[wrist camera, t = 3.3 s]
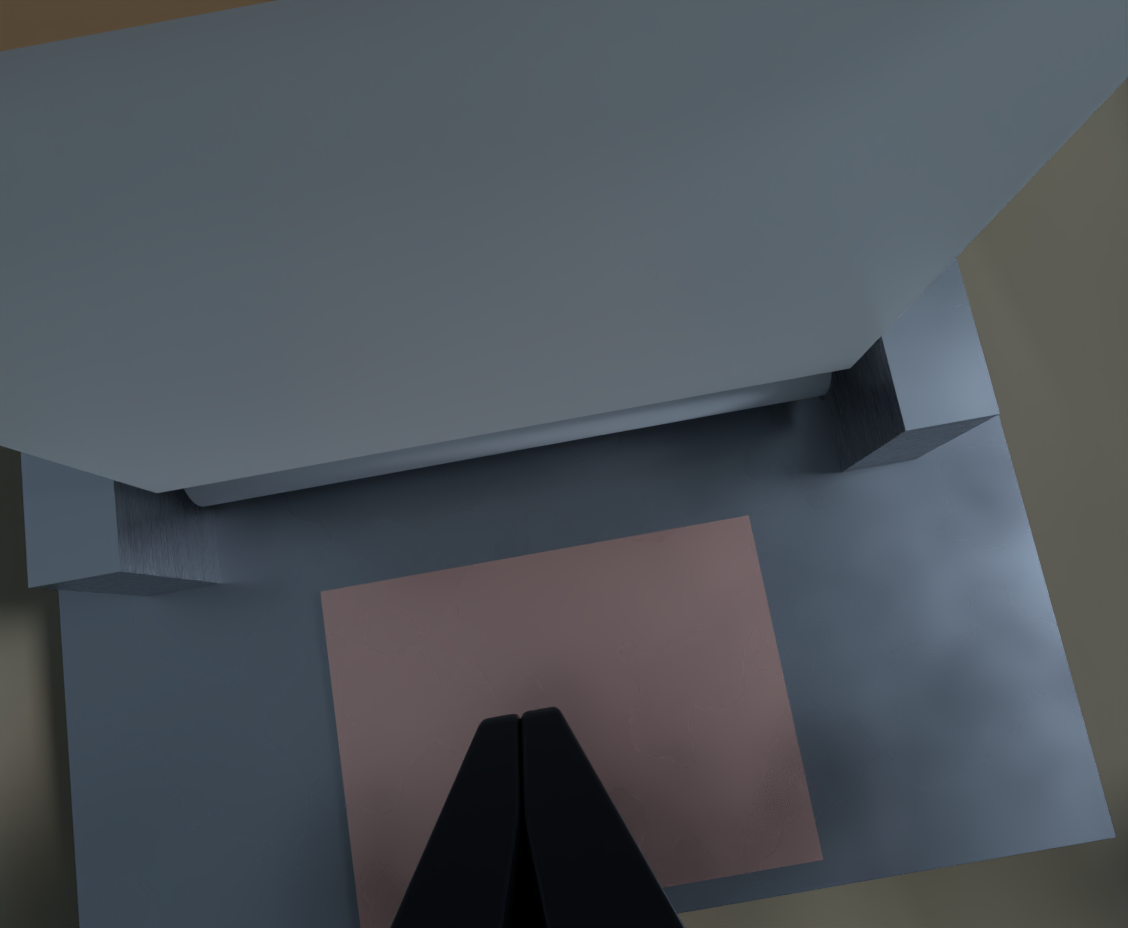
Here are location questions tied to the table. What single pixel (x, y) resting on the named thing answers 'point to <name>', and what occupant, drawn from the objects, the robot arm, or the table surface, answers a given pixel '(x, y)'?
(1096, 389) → the table surface
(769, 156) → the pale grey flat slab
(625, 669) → the blue-grey base plate
